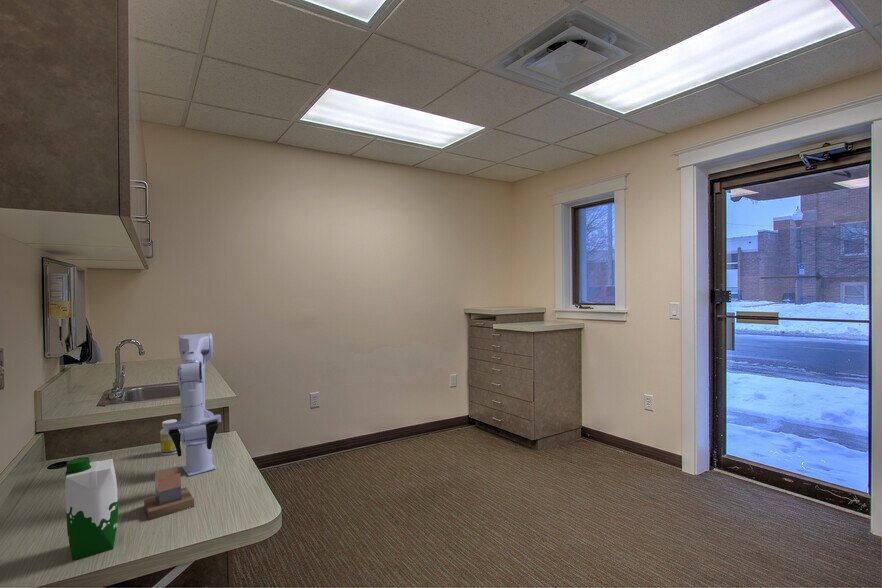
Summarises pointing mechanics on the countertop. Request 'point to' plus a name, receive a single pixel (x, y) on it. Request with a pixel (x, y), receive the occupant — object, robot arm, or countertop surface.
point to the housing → (168, 486)
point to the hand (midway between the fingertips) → (194, 451)
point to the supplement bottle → (167, 440)
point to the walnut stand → (168, 505)
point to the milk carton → (91, 506)
